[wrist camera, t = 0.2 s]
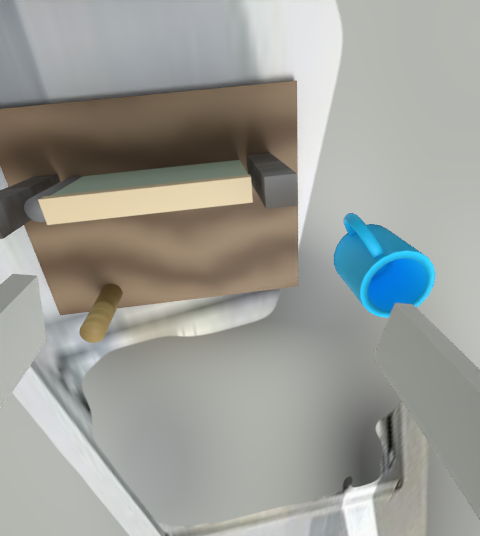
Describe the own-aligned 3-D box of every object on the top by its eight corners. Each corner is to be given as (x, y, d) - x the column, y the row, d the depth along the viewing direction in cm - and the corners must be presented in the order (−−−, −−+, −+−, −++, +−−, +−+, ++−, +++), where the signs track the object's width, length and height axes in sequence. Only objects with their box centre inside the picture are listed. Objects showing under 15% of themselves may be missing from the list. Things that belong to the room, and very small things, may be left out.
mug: (405, 260, 43) (445, 291, 36) (350, 293, 45) (378, 329, 38) (368, 185, 38) (406, 204, 31) (307, 225, 40) (330, 252, 33)
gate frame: (-16, 110, 32) (-144, 114, 20) (294, 81, 33) (342, 68, 21) (63, 310, 42) (8, 389, 30) (296, 282, 43) (329, 347, 32)
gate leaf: (64, 176, 33) (13, 202, 25) (239, 157, 34) (251, 176, 25) (70, 195, 34) (23, 227, 25) (241, 177, 35) (252, 202, 26)
